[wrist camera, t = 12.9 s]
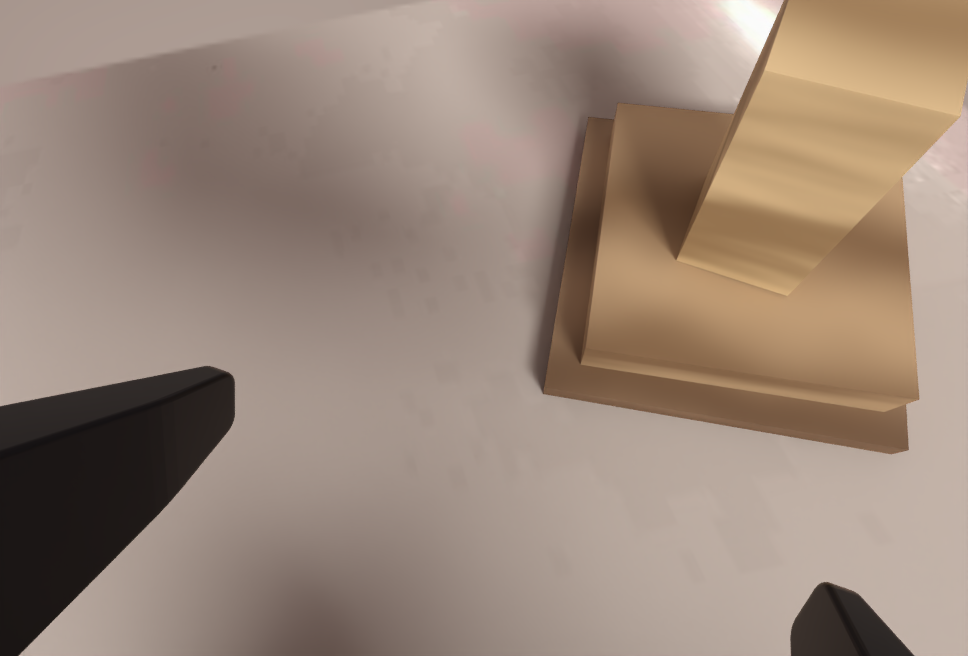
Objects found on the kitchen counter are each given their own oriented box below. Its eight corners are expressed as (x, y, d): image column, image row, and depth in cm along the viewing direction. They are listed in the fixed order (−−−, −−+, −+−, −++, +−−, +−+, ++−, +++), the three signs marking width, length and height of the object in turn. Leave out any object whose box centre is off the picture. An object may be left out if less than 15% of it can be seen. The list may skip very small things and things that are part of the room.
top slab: (883, 412, 21) (919, 399, 19) (580, 364, 22) (585, 348, 20) (869, 162, 24) (898, 130, 22) (611, 134, 26) (617, 103, 24)
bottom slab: (876, 458, 22) (908, 450, 20) (542, 399, 24) (544, 387, 22) (865, 178, 26) (891, 150, 24) (584, 145, 28) (588, 116, 26)
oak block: (787, 296, 20) (960, 115, 12) (676, 260, 21) (764, 70, 13) (812, 206, 21) (986, -15, 13) (706, 175, 22) (805, -49, 14)
